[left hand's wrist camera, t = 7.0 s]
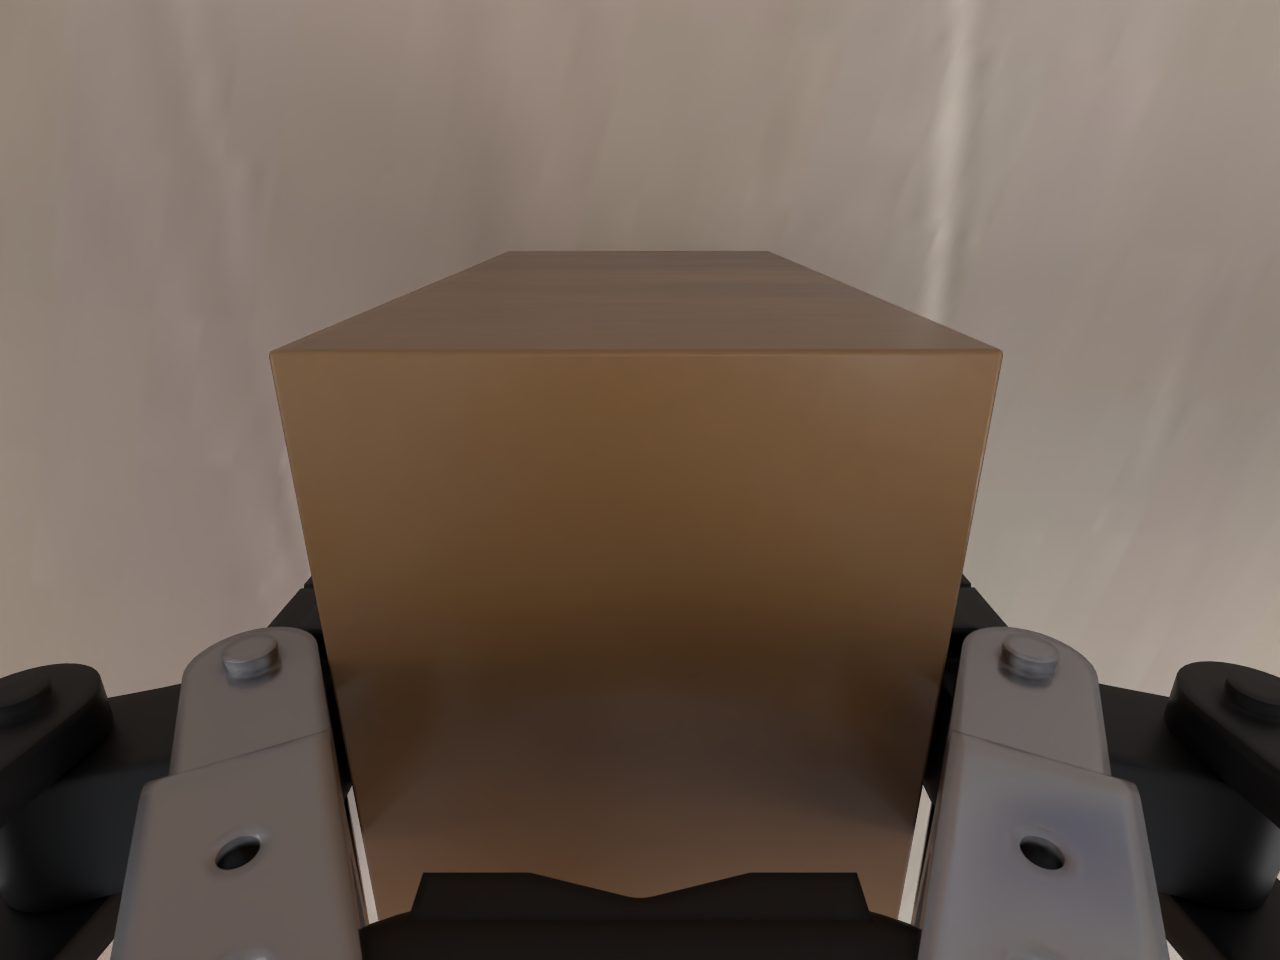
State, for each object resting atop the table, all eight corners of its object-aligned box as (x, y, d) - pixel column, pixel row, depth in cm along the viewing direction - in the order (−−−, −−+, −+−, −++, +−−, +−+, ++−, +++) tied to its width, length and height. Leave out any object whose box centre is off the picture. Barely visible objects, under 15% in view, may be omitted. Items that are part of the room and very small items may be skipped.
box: (507, 251, 17) (264, 350, 6) (769, 251, 17) (1005, 350, 6) (557, 1004, 27) (501, 1558, 16) (722, 1004, 27) (779, 1557, 16)
